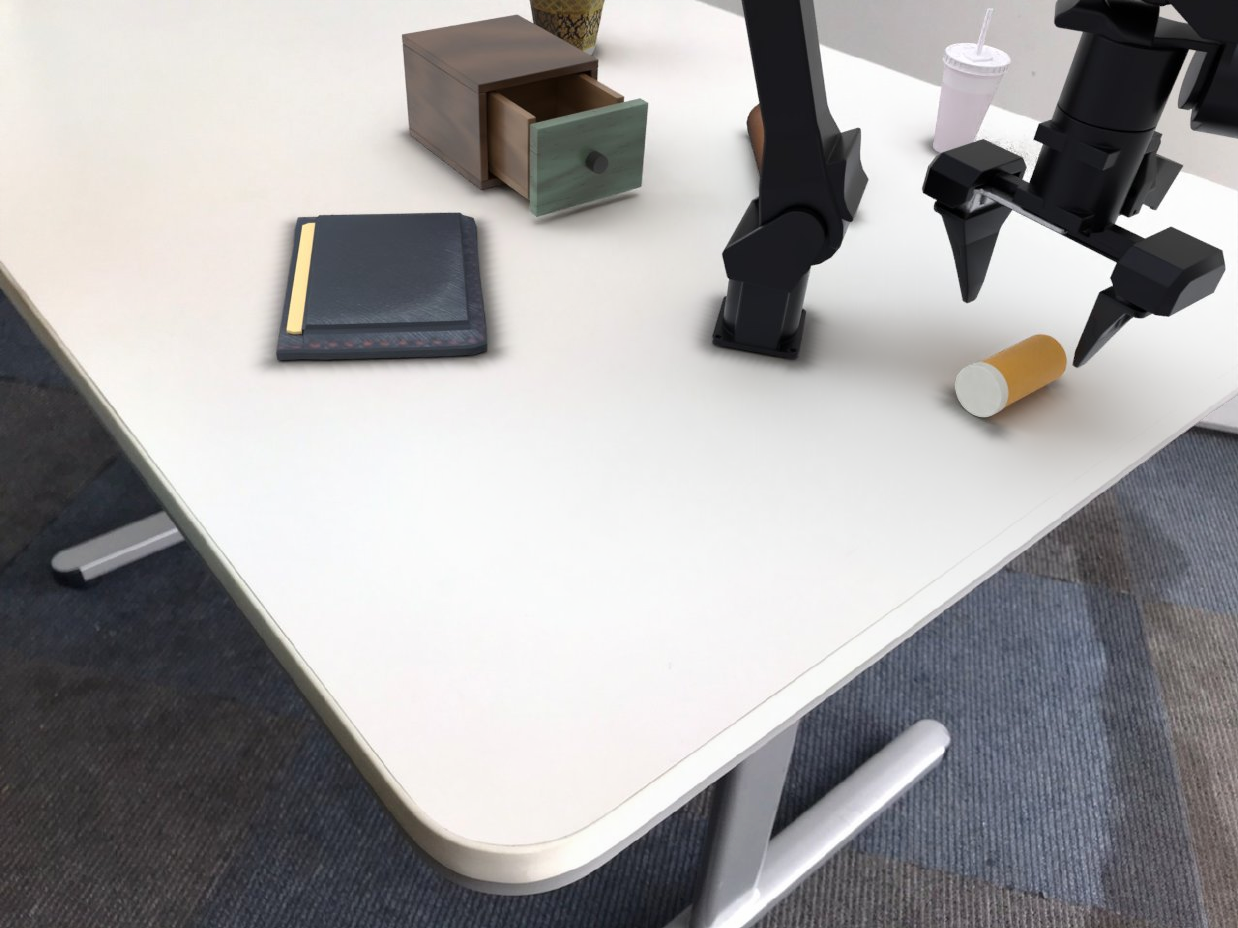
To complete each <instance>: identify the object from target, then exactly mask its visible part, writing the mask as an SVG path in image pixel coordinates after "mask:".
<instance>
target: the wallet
mask: <svg viewBox="0 0 1238 928" xmlns="http://www.w3.org/2000/svg"><path fill="white" fill-rule="evenodd" d="M293 230H294V231H293V241H292V242H293V243H292V251H291V257H290V262H289V263H290V264H289V268H288V269H289V270H288V275H287V283H286V287H285V288H286V289H285V294H284V295H285V296H284V302H283V307H282V313H281V314H282V315H281V319H280V320H281V321H280V326H279V332H278V339H277V344H276V350H275V351H276V352H275V355H276V360H277V361H290V360H325V361H326V360H359V359H360V360H361V359H364V360H365V359H395V358H400V359H401V358H426V357H428V358H429V357H454V356H473V355H476V354H480V353H483V352H487V351H488V333H487V331H488V328H487V319H486V311H485V310H486V309H485V303H484V295H483V288H482V281H481V272H480V259H479V247H478V227H477V224H476V221H475V218H474V217H472V216H469V215H465V214H464V213H461V212H414V213H413V212H412V213H411V212H410V213H408V212H407V213H363V214H362V213H361V214H360V213H359V214H358V213H357V214H355V213H353V214H320V215H318V216H298V217H297V219H296V223H295V227H294V229H293Z"/></svg>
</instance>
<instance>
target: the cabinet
mask: <svg viewBox="0 0 1238 928" xmlns="http://www.w3.org/2000/svg"><path fill="white" fill-rule="evenodd" d="M401 42H402V54H403V55H402V56H403V67H404V80H405V81H404V83H405V93H406V94H405V96H406V106H407V118H408V119H407V120H408V131H409V132H408V133H409V136H411V137H412V138H413V139H414V140H416V141H417V142H419V143H420V144H421V145H423V146H424V147H425V148H426V149H428V150H429V151H430V152H431V153H433V154H434V155H435V156H437V157H438V158H439V159H441V161H443V162H445V163H446V164H447V165H449V166H450V167H451V168H452V169H454V170H455V171H456V172H457V173H459V174H460V175H462V177H464V178H465V179H467V180H468V181H469V182H470V183H472V184H473V185H475V186H476V187H477V188H478V189H479V190H481V191H482V190H486V189H491V188H494V187H497V186H502V185H505V184H506V183H505V182H503V181H502V180H501V179H499V178H498V177H497V176H495V175H494V174H493V173H491V172H490V171H489V170H488V148H487V109H486V92H489V91H493V90H498V89H503V88H508V87H512V86H517V85H522V84H526V83H531V82H536V81H540V80H545V79H550V78H555V77H559V76H564V75H569V74H573V73H578V72H583V73H585V74H586V75H588V76H590V77H592V78H593V79H595V80H597V81H598V82H599V79H598V78H599V59H598V58H596V57H594V56H593V55H589V54H587V53H585V52H584V51H582V50H580V49H578V48H576V47H575V46H573V45H571V44H569V43H568V42H566V41H564V40H562V39H560V38H559V37H557V36H555V35H553V34H551V33H550V32H548V31H546V30H544V29H542V28H541V27H539V26H537V25H535V24H534V23H533V21H530V20H528V19H526V18H524V17H523V16H521V15H519V14H510V15H505V16H501V17H494V18H488V19H483V20H477V21H471V22H466V23H460V24H454V25H453V24H452V25H449V26H441V27H437V28H430V29H425V30H420V31H419V30H418V31H414V32H409V33H408V32H407V33H403V34H401Z"/></svg>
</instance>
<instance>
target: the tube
mask: <svg viewBox="0 0 1238 928" xmlns="http://www.w3.org/2000/svg"><path fill="white" fill-rule="evenodd" d="M1067 363H1068V360H1067V354H1066V351H1065V349H1064V346H1063V345H1062V344H1061V343H1060V342H1059V341H1058V340H1057V339H1056V338H1054V337H1053V336H1051V335H1048V334H1044V333H1037V334H1034V335H1032V336H1030V337H1029V336H1028V337H1027V338H1025V339H1023V340H1021V341H1019V342H1017V343H1015V344H1013V345H1011V346H1009V347H1007V348H1004V349H1003V350H1001V351H999V352H997V353H995V354H993V355H991V356H989V357H987V358H984V359H983V360H981V361H977V362H973V363H970V364H969V365H966V366H964V367H963V368H961V370H960V371H959V372H958V373H957V376H956V378H955V382H954V390H955V393H956V397H957V400H958V401H959V403H960V405H961V406H962V407H963V408H964V409H965V410H966V412H968V413H969V414H970V415H973V416H975V417H978V418H988V417H992V416H994V415H996V414H997V413H999V412H1001V411H1002V410H1003V409H1005V408H1006V407H1008V406H1011V405H1012V404H1014V403H1016V402H1017V401H1020V400H1021V399H1023V398H1025V397H1027V396H1029V395H1031V394H1032V393H1034V392H1036V391H1038V390H1039V389H1041V388H1044V387H1045V386H1047V385H1049V384H1050V383H1053V382H1055V381H1056V380H1058V379H1059V378H1060V377H1062V376H1063V375H1064V373H1065V371H1066V369H1067Z"/></svg>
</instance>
